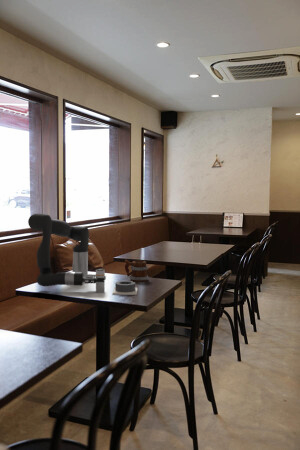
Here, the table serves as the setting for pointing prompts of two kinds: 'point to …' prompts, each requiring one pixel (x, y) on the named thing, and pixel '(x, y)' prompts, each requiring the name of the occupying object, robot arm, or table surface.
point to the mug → (137, 270)
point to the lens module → (100, 285)
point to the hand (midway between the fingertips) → (104, 279)
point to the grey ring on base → (125, 288)
